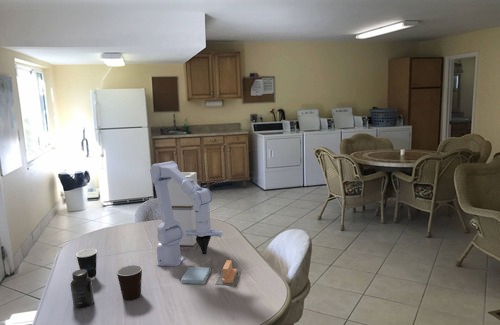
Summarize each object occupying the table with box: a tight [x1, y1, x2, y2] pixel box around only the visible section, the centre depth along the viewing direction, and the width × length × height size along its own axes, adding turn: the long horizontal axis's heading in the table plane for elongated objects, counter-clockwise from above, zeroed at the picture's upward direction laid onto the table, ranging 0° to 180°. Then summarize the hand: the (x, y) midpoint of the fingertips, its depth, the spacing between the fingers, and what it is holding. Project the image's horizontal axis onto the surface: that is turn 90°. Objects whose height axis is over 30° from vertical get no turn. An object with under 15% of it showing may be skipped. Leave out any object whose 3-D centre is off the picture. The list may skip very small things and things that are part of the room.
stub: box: [222, 259, 238, 283], centre depth 150 cm, size 4×10×5 cm, turn 172°
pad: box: [215, 269, 242, 286], centre depth 150 cm, size 8×12×1 cm, turn 172°
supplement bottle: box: [70, 269, 95, 310], centre depth 134 cm, size 7×7×12 cm
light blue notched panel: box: [180, 266, 212, 285], centre depth 152 cm, size 9×11×2 cm
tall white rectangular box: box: [167, 171, 199, 251], centre depth 184 cm, size 11×11×35 cm
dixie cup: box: [75, 248, 98, 281], centre depth 154 cm, size 8×8×11 cm
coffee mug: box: [116, 264, 143, 302], centre depth 140 cm, size 12×9×10 cm
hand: (204, 253), depth 150 cm, fingers closed
